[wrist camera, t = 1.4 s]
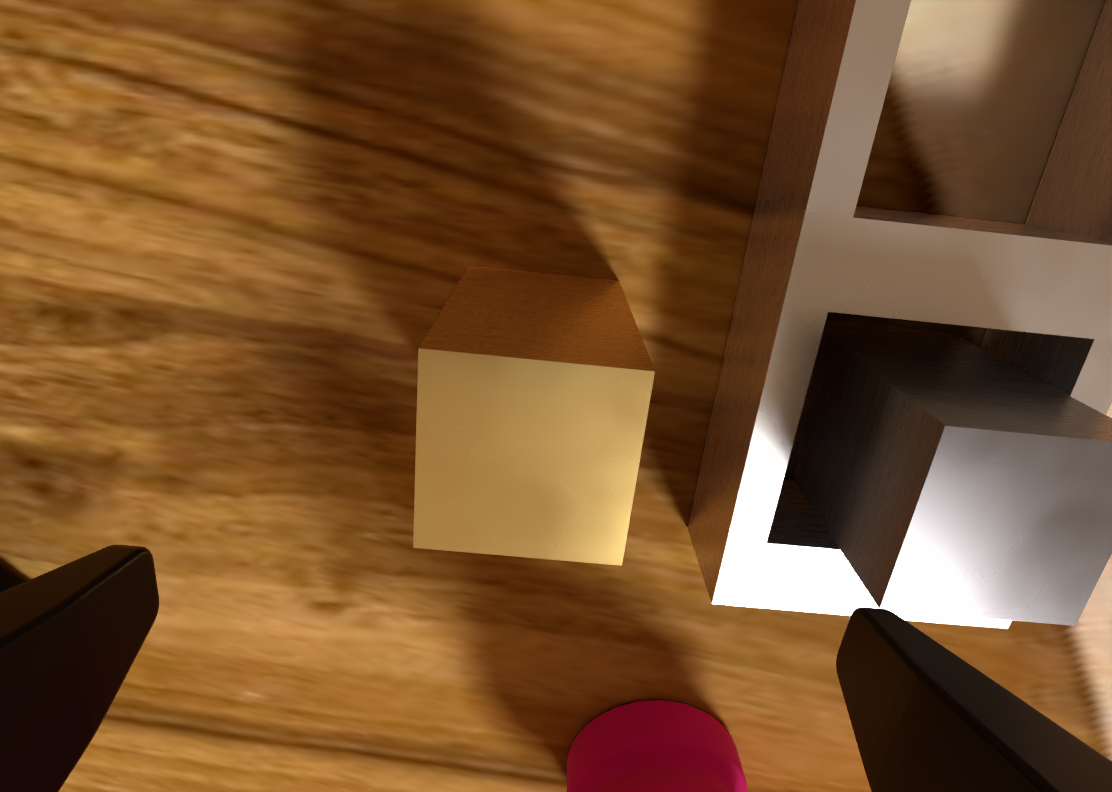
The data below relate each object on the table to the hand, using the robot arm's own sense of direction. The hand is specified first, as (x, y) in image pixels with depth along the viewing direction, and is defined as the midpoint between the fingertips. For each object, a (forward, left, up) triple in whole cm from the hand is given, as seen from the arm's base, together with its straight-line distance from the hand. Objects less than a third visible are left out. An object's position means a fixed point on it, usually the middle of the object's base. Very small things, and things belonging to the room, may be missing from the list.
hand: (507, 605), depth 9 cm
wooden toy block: (0, 0, -11) cm, 11 cm away
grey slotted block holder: (+4, +9, -11) cm, 15 cm away
